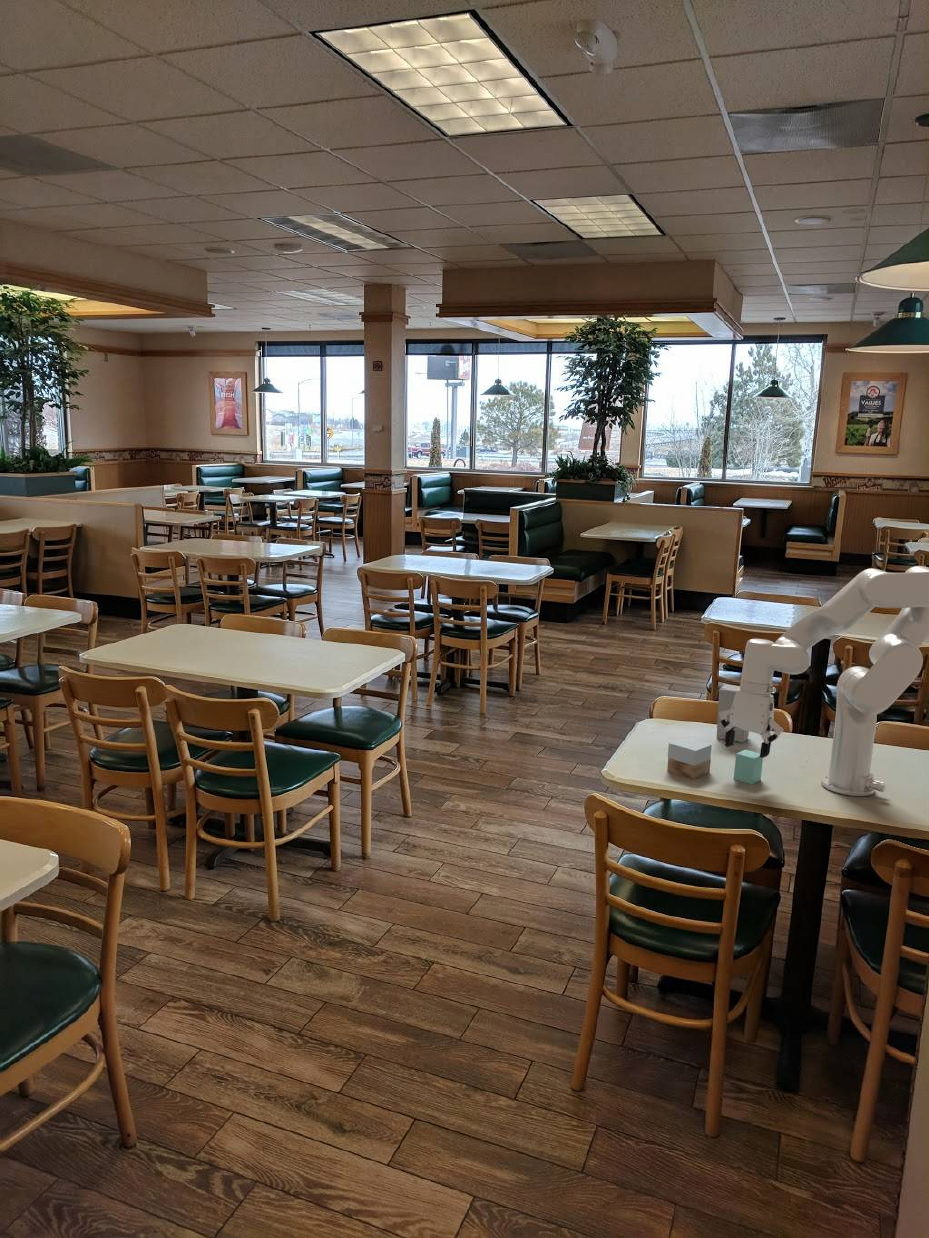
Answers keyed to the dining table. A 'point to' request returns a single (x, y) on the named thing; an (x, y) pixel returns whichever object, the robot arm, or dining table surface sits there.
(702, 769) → the tower base
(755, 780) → the block
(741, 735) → the skincare box
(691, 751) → the tower top
